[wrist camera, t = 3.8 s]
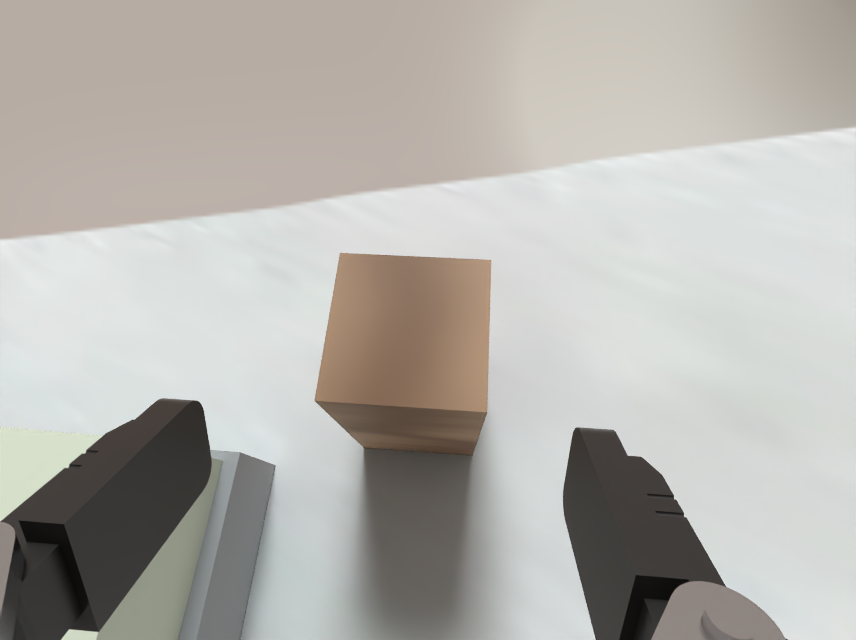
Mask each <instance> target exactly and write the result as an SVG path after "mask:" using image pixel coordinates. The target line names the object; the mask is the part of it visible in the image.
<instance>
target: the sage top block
mask: <svg viewBox="0 0 856 640" xmlns="http://www.w3.org/2000/svg"><path fill="white" fill-rule="evenodd" d="M101 437H102V436H98V435H87V434H75V433H64V432H52V431H41V430H29V429H18V428H6V427H0V521H1V520H3V519H4V518H5V517H6V516H7V515H9V514H10V513H11V512H12V511H13V510H15V509H16V508H17V507H18V506H19V505H21V504H22V503H23V502H24V501H25V500H27V499H28V498H29V497H30V496H31V495H33V494H34V493H35V492H36V491H37V490H39V489H40V488H41V487H42V486H43V485H45V484H46V483H47V482H48V481H50V480H51V479H52V478H53V477H54V476H56V475H57V474H58V473H59V472H60V471H62V470H63V469H64V468H68V467H69V464H70V463H71V462H72V461H74V460H75V459H76V458H77V457H78V456H80V455H81V454H82V453H83V454H85V453H86V450H87V449H88V448H89V447H90V446H92V445H93V444H94V443H95V442H96V441H98V440H99V439H100V438H101ZM211 459H212V468H211V474H210V478H209V481H208V483H207V485H206V487H205V489H204V490H203V492H202V493H201V494H200V496H199V497H198V498H197V500H196V501H195V503H194V504H193V505H192V507H191V508H190V509H189V511H188V512H187V513H186V515H185V516H184V517H183V519H182V520H181V522H180V523H179V524H178V526H177V527H176V528H175V530H174V531H173V532H172V534H171V535H170V537H169V538H168V539H167V541H166V542H165V543H164V545H163V546H162V547H161V549H160V550H159V551H158V553H157V554H156V556H155V557H154V558H153V560H152V561H151V562H150V564H149V565H148V566H147V568H146V569H145V570H144V572H143V573H142V575H141V576H140V577H139V579H138V580H137V581H136V583H135V584H134V585H133V587H132V588H131V589H130V591H129V592H128V594H127V595H126V596H125V598H124V599H123V600H122V602H121V603H120V604H119V606H118V607H117V608H116V610H115V611H114V613H113V614H112V615H111V617H110V618H109V619H108V621H107V622H106V623H105V625H104V626H103V627H102V629H101V630H100V632H92V631H82V630H72V629H69V630H68V631H67V633H66V634H65V635H64V636H63V638H62V639H61V640H178V638H179V634H180V630H181V626H182V622H183V618H184V614H185V610H186V606H187V602H188V598H189V594H190V590H191V586H192V582H193V578H194V574H195V570H196V566H197V563H198V559H199V555H200V551H201V547H202V543H203V539H204V535H205V531H206V527H207V523H208V519H209V515H210V511H211V507H212V503H213V499H214V495H215V491H216V487H217V483H218V479H219V475H220V471H221V467H222V463H223V461H222V460H219V459H216V458H212V457H211Z"/></svg>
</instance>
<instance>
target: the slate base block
mask: <svg viewBox="0 0 856 640" xmlns="http://www.w3.org/2000/svg"><path fill="white" fill-rule="evenodd" d="M210 452H211V457H212V458H216V459H219V460H222V461H223V463H222V467H221V471H220V475H219V479H218V483H217V487H216V491H215V495H214V499H213V503H212V507H211V511H210V515H209V519H208V523H207V527H206V531H205V535H204V539H203V543H202V547H201V551H200V555H199V559H198V563H197V566H196V570H195V574H194V578H193V582H192V586H191V590H190V594H189V598H188V602H187V606H186V610H185V614H184V618H183V622H182V626H181V630H180V634H179V638H178V640H240V637H241V632H242V627H243V622H244V617H245V613H246V608H247V603H248V598H249V593H250V588H251V583H252V578H253V573H254V568H255V563H256V558H257V553H258V548H259V544H260V539H261V534H262V529H263V524H264V519H265V514H266V509H267V504H268V499H269V494H270V489H271V484H272V480H273V475H274V470H275V465H273V464H270V463H268V462H265V461H262V460H259V459H257V458H254V457H251V456H248V455H246V454H243V453H240V452H228V451H216V450H210Z"/></svg>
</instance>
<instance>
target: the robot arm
mask: <svg viewBox="0 0 856 640" xmlns="http://www.w3.org/2000/svg"><path fill="white" fill-rule="evenodd" d="M211 468H212V459H211V452H210V446H209V440H208V434H207V428H206V422H205V416H204V410H203V407H202V405H201V404H200V403H199V402H198V401H193V400H178V399H164V398H163V399H159V400H158V401H156V402H155V403H154V404H153V405H151V406H150V407H149V408H148V409H147V410H146V411H144V412H143V413H142V414H141V415H140V416H139V417H137V418H136V419H135V420H131V421H129V422H127V423H125V424H123V425H121V426H119V427H118V428H116V429H114V430H112V431H110V432H108V433H106V434H105V435H104V436H102V437H101V438H100V439H99V440H98V441H96V442H95V443H94V444H93V445H92V446H90V447H89V448H88V449H87V450H86V453H85V454H83V453H82V454H81V455H80V456H78V457H77V458H76V459H75V460H74V461H72V462H71V463H70V464H69V467H68V468H64V469H63V470H62V471H60V472H59V473H58V474H57V475H56V476H54V477H53V478H52V479H51V480H50V481H48V482H47V483H46V484H45V485H43V486H42V487H41V488H40V489H39V490H37V491H36V492H35V493H34V494H33V495H31V496H30V497H29V498H28V499H27V500H25V501H24V502H23V503H22V504H21V505H19V506H18V507H17V508H16V509H15V510H13V511H12V512H11V513H10V514H9V515H7V516H6V517H5V518H4V519H3V520H1V521H0V640H61V639H62V638H63V636H64V635H65V634H66V633H67V631H68V630H69V629H72V630H82V631H92V632H100V630H101V629H102V627H103V626H104V625H105V623H106V622H107V621H108V619H109V618H110V617H111V615H112V614H113V613H114V611H115V610H116V608H117V607H118V606H119V604H120V603H121V602H122V600H123V599H124V598H125V596H126V595H127V594H128V592H129V591H130V589H131V588H132V587H133V585H134V584H135V583H136V581H137V580H138V579H139V577H140V576H141V575H142V573H143V572H144V570H145V569H146V568H147V566H148V565H149V564H150V562H151V561H152V560H153V558H154V557H155V556H156V554H157V553H158V551H159V550H160V549H161V547H162V546H163V545H164V543H165V542H166V541H167V539H168V538H169V537H170V535H171V534H172V532H173V531H174V530H175V528H176V527H177V526H178V524H179V523H180V522H181V520H182V519H183V517H184V516H185V515H186V513H187V512H188V511H189V509H190V508H191V507H192V505H193V504H194V503H195V501H196V500H197V498H198V497H199V496H200V494H201V493H202V492H203V490H204V489H205V487H206V485H207V483H208V481H209V478H210V474H211ZM563 508H564V516H565V521H566V525H567V529H568V533H569V537H570V540H571V544H572V548H573V552H574V556H575V560H576V564H577V568H578V572H579V576H580V580H581V583H582V587H583V591H584V595H585V599H586V603H587V607H588V611H589V615H590V619H591V623H592V626H593V630H594V634H595V638H596V640H787V639H785V637H784V636H783V634H782V632H781V631H780V629H779V628H778V626H777V625H776V624H775V623H774V621H773V620H772V619H771V618H770V617H769V616H768V615H767V614H766V613H765V612H764V611H763V610H762V609H761V608H760V607H758V606H757V605H756V604H755V603H753V602H752V601H750V600H749V599H748V598H746V597H744V596H743V595H741V594H739V593H738V592H736V591H734V590H731V589H729V588H727V587H726V586H725V584H724V582H723V581H722V579H721V577H720V575H719V574H718V572H717V570H716V568H715V567H714V565H713V563H712V561H711V560H710V558H709V556H708V554H707V553H706V551H705V549H704V547H703V546H702V544H701V542H700V541H699V539H698V537H697V535H696V534H695V532H694V530H693V528H692V527H691V525H690V523H689V521H688V520H687V518H685V517H684V513H683V511H682V509H681V507H680V506H679V504H678V502H677V500H674V495H673V493H672V492H671V490H670V488H669V486H668V485H667V483H666V481H665V479H664V478H663V476H662V475H661V474H660V473H659V472H658V471H657V470H656V469H655V468H653V467H652V466H651V465H650V464H649V463H648V462H647V461H646V460H644V459H643V458H642V457H636V456H627V454H626V452H625V450H624V448H623V446H622V444H621V442H620V440H619V438H618V436H617V434H616V432H615V431H614V430H607V429H592V428H575V430H574V432H573V436H572V441H571V447H570V453H569V459H568V465H567V471H566V477H565V483H564V490H563Z"/></svg>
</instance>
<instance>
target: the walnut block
mask: <svg viewBox="0 0 856 640" xmlns="http://www.w3.org/2000/svg"><path fill="white" fill-rule="evenodd" d="M490 285H491V260H479V259H457V258H436V257H414V256H392V255H371V254H349V253H340V257H339V262H338V268H337V274H336V280H335V285H334V291H333V297H332V303H331V309H330V314H329V320H328V326H327V332H326V338H325V343H324V349H323V355H322V361H321V366H320V372H319V378H318V384H317V390H316V395H315V402H316V403H317V404H318V405H320V406H321V407H322V408H323V409H324V410H325V411H326V412H327V413H328V414H329V415H330V416H331V417H332V418H333V419H334V420H335V421H336V422H337V423H338V424H340V425H341V426H342V427H343V428H344V429H345V430H346V431H347V432H348V433H349V434H350V435H351V436H352V437H353V438H354V439H355V440H356V441H357V442H358V443H360V444H361V445H362V446H363V447H364V448H377V449H391V450H405V451H418V452H432V453H446V454H459V455H473V452H474V449H475V446H476V443H477V440H478V437H479V434H480V431H481V428H482V426H483V423H484V420H485V417H486V414H487V395H488V358H489V321H490Z"/></svg>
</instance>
